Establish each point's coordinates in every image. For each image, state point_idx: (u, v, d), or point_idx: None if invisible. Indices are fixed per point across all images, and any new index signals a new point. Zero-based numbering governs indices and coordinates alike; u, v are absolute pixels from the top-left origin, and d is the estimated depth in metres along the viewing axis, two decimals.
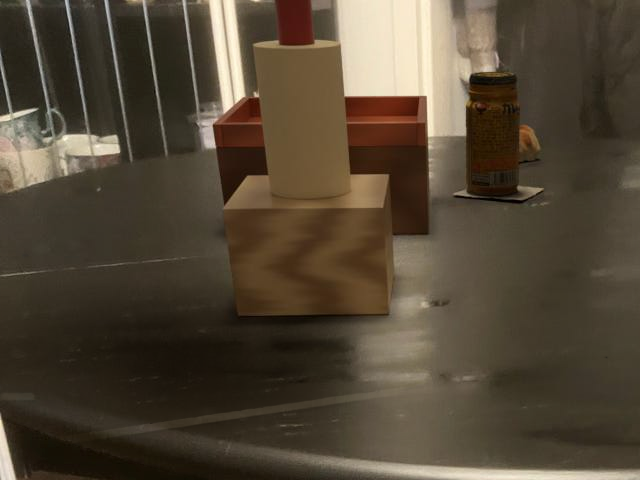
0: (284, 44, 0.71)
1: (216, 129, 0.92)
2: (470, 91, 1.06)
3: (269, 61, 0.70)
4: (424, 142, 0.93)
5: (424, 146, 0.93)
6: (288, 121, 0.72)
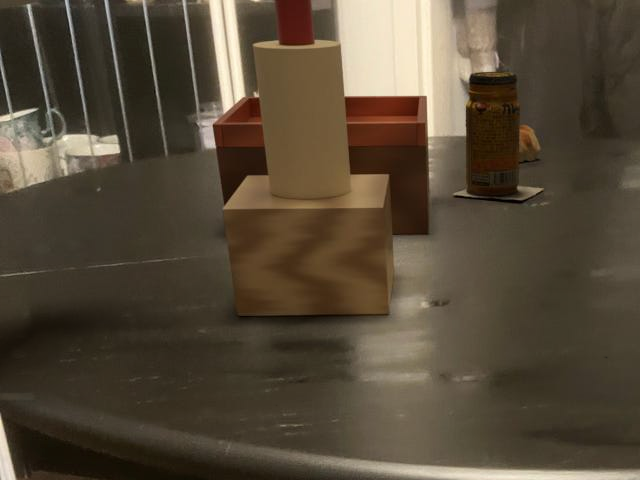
0: (284, 44, 0.71)
1: (216, 129, 0.92)
2: (470, 91, 1.06)
3: (269, 61, 0.70)
4: (424, 142, 0.93)
5: (424, 146, 0.93)
6: (288, 121, 0.72)
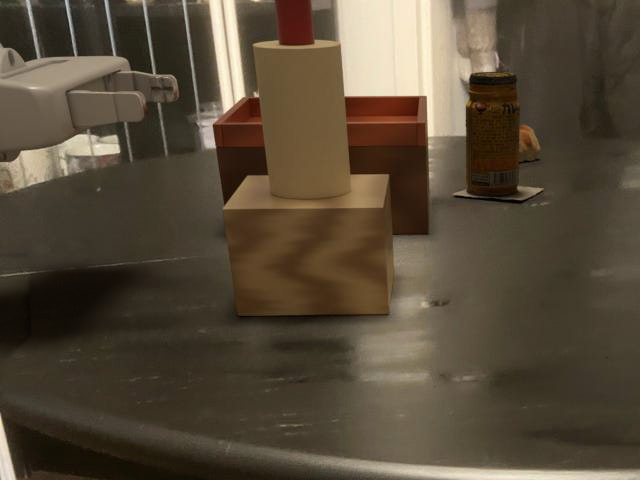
0: (284, 44, 0.71)
1: (216, 129, 0.92)
2: (470, 91, 1.06)
3: (269, 61, 0.70)
4: (424, 142, 0.93)
5: (424, 146, 0.93)
6: (288, 121, 0.72)
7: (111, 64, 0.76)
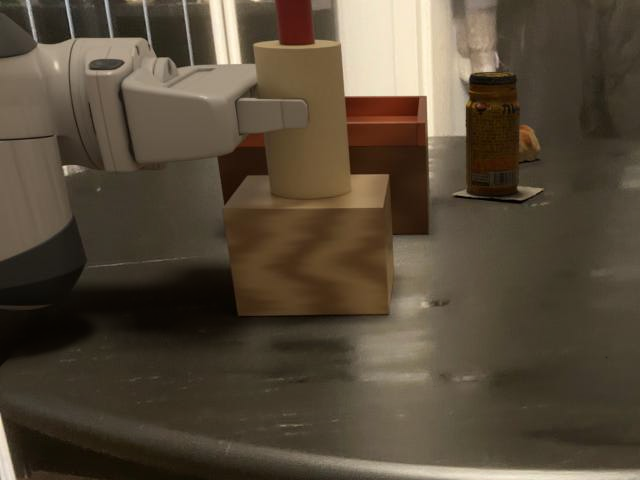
0: (284, 44, 0.71)
1: None
2: (470, 91, 1.06)
3: (269, 61, 0.70)
4: (424, 142, 0.93)
5: (424, 146, 0.93)
6: None
7: None
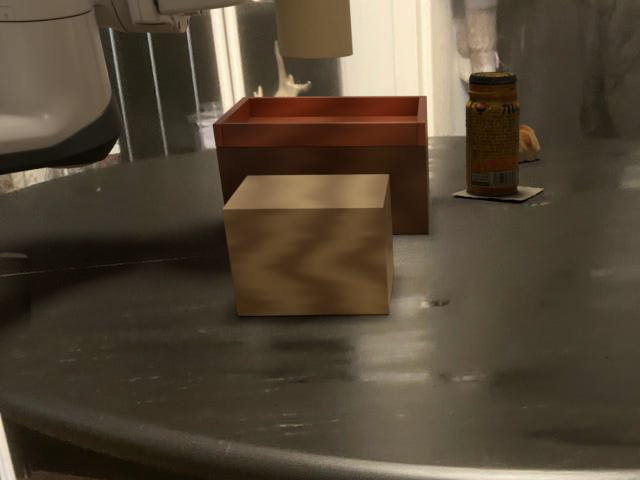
0: None
1: (216, 129, 0.92)
2: (470, 91, 1.06)
3: None
4: (424, 142, 0.93)
5: (424, 146, 0.93)
6: None
7: None
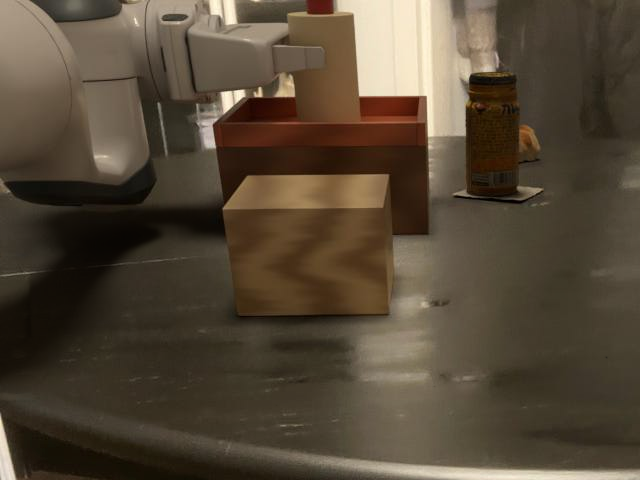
0: (311, 13, 0.93)
1: (216, 129, 0.92)
2: (470, 91, 1.06)
3: (300, 26, 0.92)
4: (424, 142, 0.93)
5: (424, 146, 0.93)
6: (313, 73, 0.94)
7: (286, 28, 0.99)
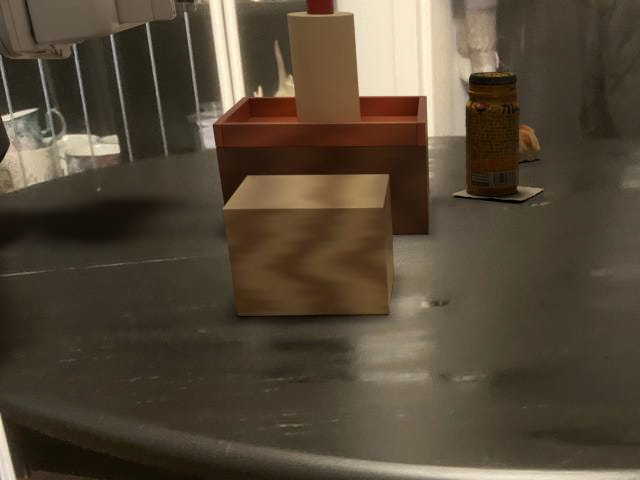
0: (311, 13, 0.93)
1: (216, 129, 0.92)
2: (470, 91, 1.06)
3: (300, 26, 0.92)
4: (424, 142, 0.93)
5: (424, 146, 0.93)
6: (313, 73, 0.94)
7: None
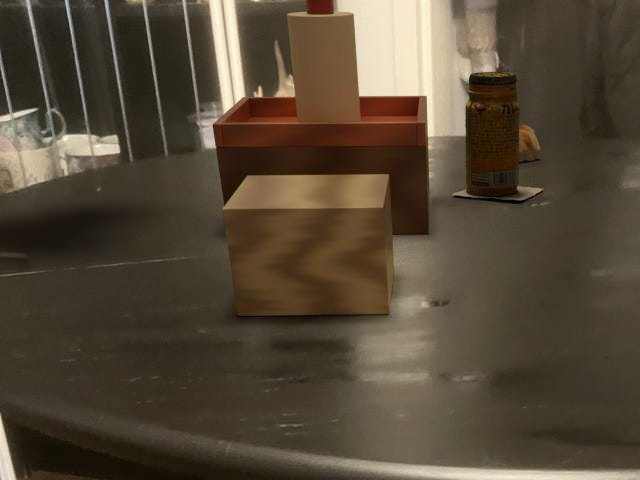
0: (311, 13, 0.93)
1: (216, 129, 0.92)
2: (470, 91, 1.06)
3: (300, 26, 0.92)
4: (424, 142, 0.93)
5: (424, 146, 0.93)
6: (313, 73, 0.94)
7: None
